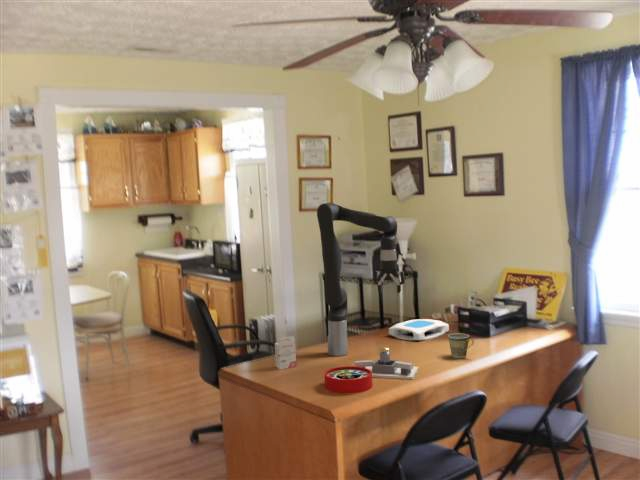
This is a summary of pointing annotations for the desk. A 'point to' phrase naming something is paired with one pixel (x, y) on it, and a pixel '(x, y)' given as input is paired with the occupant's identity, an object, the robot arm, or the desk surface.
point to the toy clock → (348, 379)
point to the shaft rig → (389, 369)
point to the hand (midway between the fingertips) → (389, 292)
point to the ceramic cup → (459, 344)
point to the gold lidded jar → (384, 356)
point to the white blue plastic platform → (418, 329)
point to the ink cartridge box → (285, 353)
